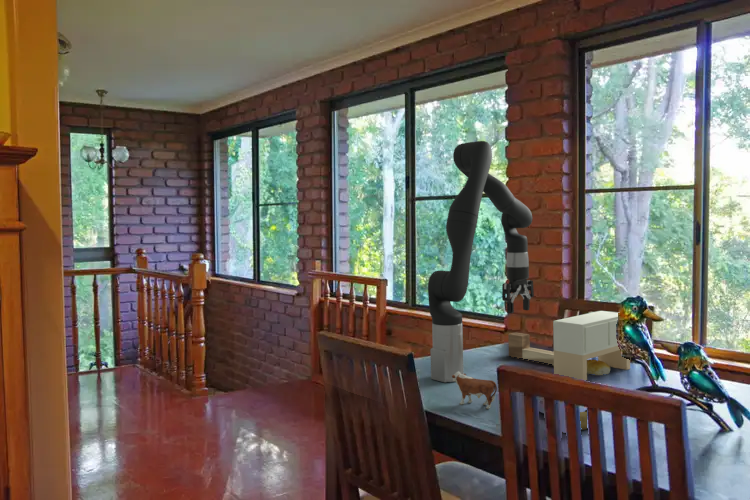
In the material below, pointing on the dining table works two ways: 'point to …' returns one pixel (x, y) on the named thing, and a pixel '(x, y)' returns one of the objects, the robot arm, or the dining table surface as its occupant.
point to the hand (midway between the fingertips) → (518, 311)
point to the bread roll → (597, 367)
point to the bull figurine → (475, 388)
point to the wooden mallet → (527, 349)
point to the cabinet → (586, 343)
